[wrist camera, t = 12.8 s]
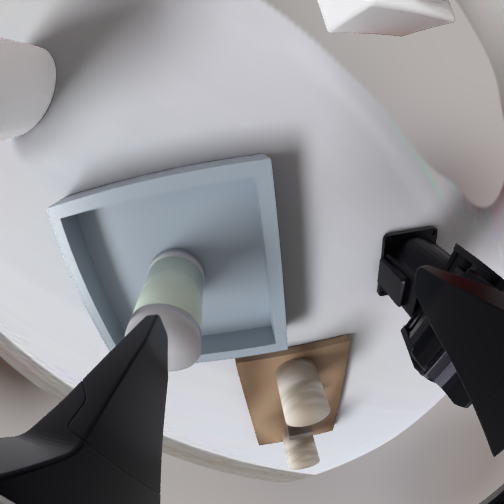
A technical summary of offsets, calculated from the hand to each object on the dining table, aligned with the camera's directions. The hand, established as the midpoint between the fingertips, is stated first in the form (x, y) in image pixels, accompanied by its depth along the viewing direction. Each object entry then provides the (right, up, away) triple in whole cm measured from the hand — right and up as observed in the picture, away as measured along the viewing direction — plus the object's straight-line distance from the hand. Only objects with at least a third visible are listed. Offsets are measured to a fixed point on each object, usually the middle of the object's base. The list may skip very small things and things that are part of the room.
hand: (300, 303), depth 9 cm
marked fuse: (-7, 0, +13) cm, 15 cm away
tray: (-8, 0, +14) cm, 16 cm away
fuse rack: (+4, -18, +24) cm, 30 cm away
